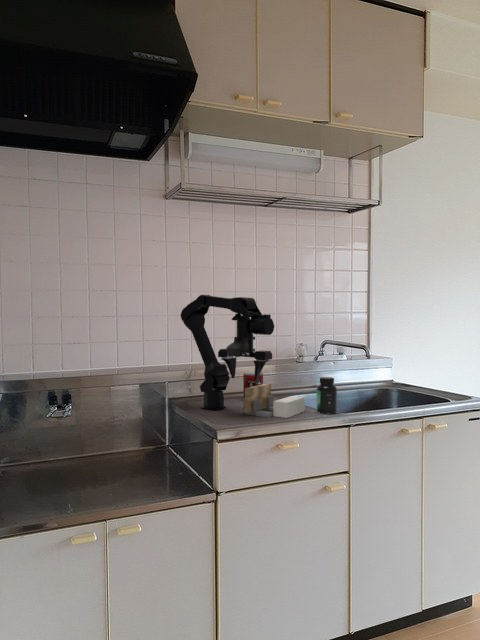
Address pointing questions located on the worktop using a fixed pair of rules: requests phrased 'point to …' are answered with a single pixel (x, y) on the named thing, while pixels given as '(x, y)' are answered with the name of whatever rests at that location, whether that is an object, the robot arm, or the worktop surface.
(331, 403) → the supplement bottle
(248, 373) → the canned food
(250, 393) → the door panel
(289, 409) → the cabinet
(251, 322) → the robot arm
